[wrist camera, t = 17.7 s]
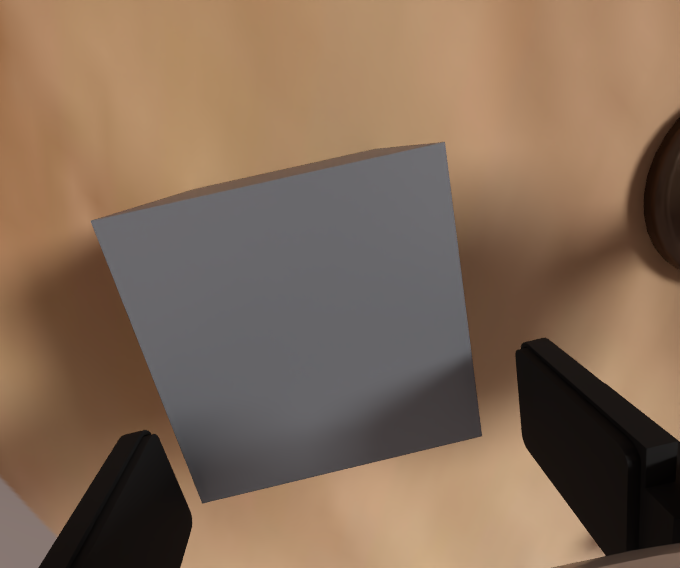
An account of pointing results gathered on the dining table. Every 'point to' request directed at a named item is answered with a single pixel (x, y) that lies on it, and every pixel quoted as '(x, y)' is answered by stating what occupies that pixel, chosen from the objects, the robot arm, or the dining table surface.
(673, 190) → the candlestick
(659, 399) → the dining table surface
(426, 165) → the matte gray cube
